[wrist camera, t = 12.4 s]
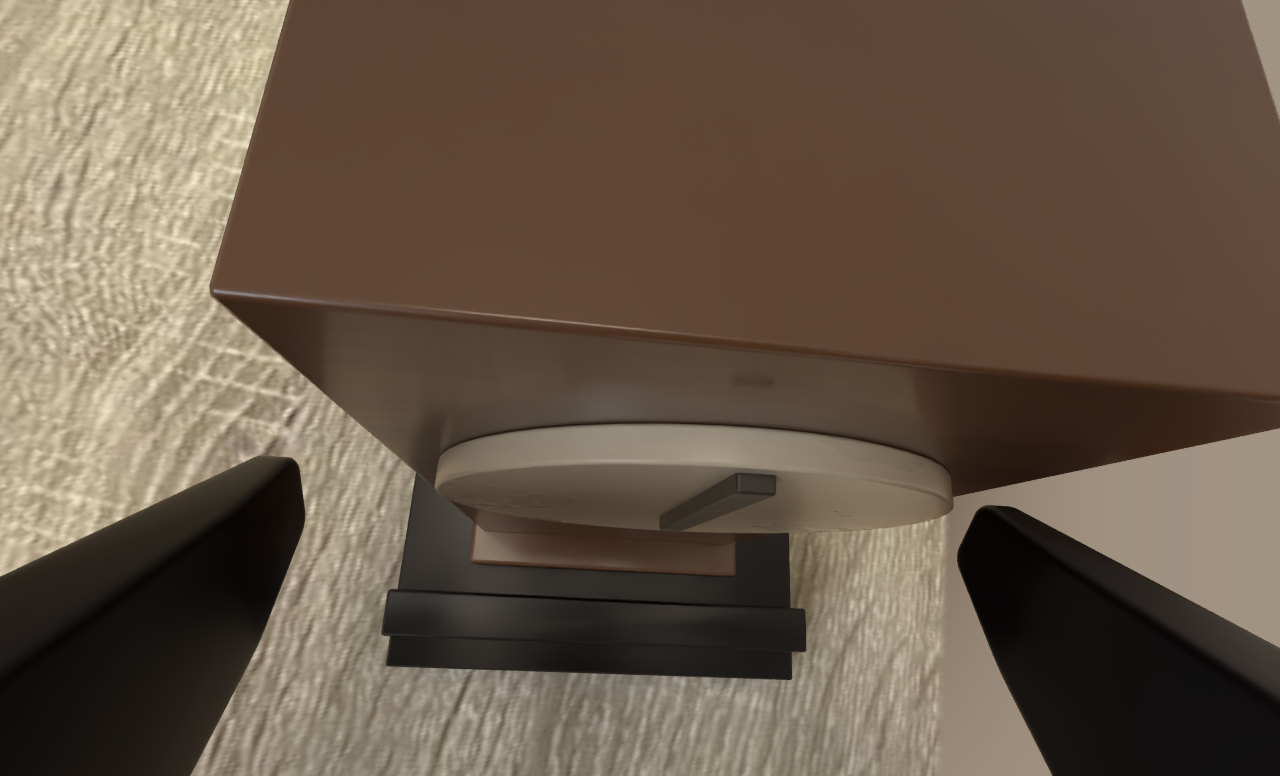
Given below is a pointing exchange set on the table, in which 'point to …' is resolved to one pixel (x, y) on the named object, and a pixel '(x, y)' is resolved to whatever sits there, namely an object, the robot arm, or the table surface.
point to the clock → (761, 254)
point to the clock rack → (585, 610)
